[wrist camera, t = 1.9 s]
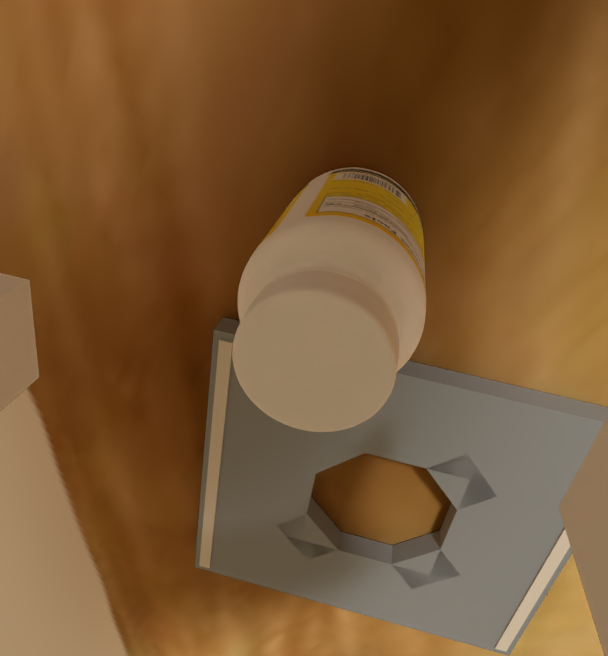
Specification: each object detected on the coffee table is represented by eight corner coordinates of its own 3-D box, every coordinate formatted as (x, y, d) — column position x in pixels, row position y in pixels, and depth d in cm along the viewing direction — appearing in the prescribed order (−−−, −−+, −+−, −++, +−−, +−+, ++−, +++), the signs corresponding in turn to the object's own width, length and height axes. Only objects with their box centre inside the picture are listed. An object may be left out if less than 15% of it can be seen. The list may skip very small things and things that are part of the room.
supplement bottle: (319, 313, 23) (260, 473, 15) (264, 196, 21) (159, 302, 13) (444, 273, 21) (458, 429, 13) (396, 140, 19) (375, 220, 11)
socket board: (222, 317, 24) (213, 330, 23) (635, 413, 22) (647, 433, 21) (201, 550, 32) (194, 568, 31) (506, 634, 30) (509, 657, 29)
